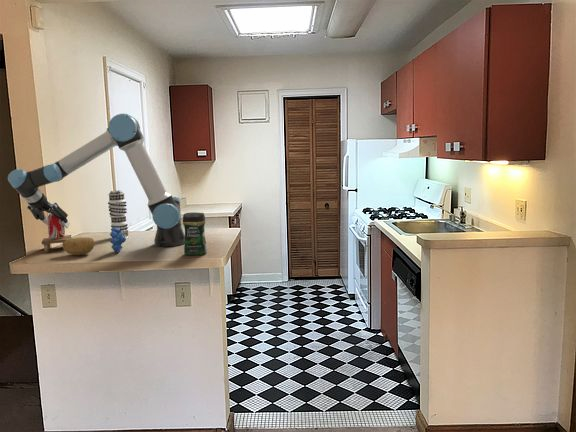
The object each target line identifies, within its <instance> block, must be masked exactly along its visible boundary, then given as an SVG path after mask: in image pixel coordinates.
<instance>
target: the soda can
mask: <svg viewBox="0 0 576 432" xmlns="http://www.w3.org/2000/svg"><path fill="white" fill-rule="evenodd" d="M47 217H48V226H47V233H48V237H49V238H51V239H61V238H63V237H64V236H66V230H65V228H66V227H65V226H64V225H63V224H62V223H61V221H60V219H59V218H57V217H56V216H54V215H53V214H51V213H48V216H47Z"/></svg>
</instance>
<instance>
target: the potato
mask: <svg viewBox="0 0 576 432" xmlns="http://www.w3.org/2000/svg"><path fill="white" fill-rule="evenodd" d="M61 244H62V245H61V246H62V248H63V250H64V251H65V253H67V254H69V255H73V256H84V255H87V254H89V253H91V252H92V251H93V249H94V247H95V244H96V243H95V239H94V238H91V237H85V236H84V237H83V236H80V237H79V236H78V237H75V238H74V237H71V239H67V240H65V241H64V242H63V243H61Z"/></svg>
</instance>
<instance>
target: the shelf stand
mask: <svg viewBox="0 0 576 432" xmlns="http://www.w3.org/2000/svg"><path fill="white" fill-rule="evenodd" d="M47 237H48V238H44V237H43V238H42V241H41V245H43V250H44V253H49V252H50V250H49V249H51V245H52V244H63V242H64V241H65V240H67V239H71V238H72V235H71V234H69V235H68V234H65V236H64V237H63V238H61V239H51V238H49V236H47Z"/></svg>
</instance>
